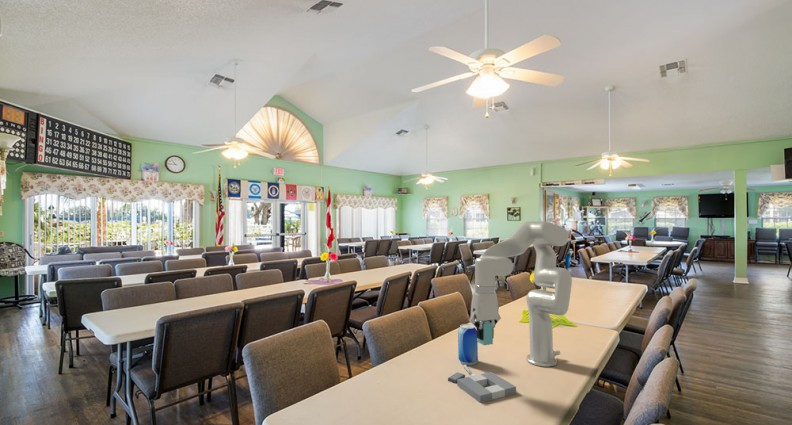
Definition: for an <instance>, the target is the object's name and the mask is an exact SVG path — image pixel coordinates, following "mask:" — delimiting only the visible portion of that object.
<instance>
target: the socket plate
mask: <svg viewBox="0 0 792 425" xmlns="http://www.w3.org/2000/svg"><path fill="white" fill-rule="evenodd" d="M474 375H475V376H471V375H470V376H467V377H466V376H465V378H461V379H457V383H456V386H457V387H459V388H460V389H461V390H462V391H463V392H465V393H467V394H468V395H469V396H471V397H472V398H473V399H475V400H476V401H477V402H478V403H484V402H485V403H486V402H488V401H493V400H495V399H500V398H504V397H507V396H511V395H514V394H517V386H515V385H514V384H513V383H511V382H509V381H507V380H506V379H504V378H502V377H501V376H498V375H497V374H495V373H493V372H492V371H490V372H484V373H479V374H474ZM485 386H486V387H485Z"/></svg>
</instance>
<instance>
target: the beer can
mask: <svg viewBox="0 0 792 425" xmlns="http://www.w3.org/2000/svg"><path fill="white" fill-rule="evenodd" d="M457 336H458V339H457V342H458V347H457V348H458V360H459V362H460V363H461V365H466V366H475V365H476V364H477V362H478V361H479V355H478V354H479V352H478V350H479V349H478V348H479V347H478V346H479V345H478V338H477V328H476V327H475V326H474V324H472V323H462V324H460V325H459V328H458V330H457Z"/></svg>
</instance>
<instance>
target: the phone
mask: <svg viewBox="0 0 792 425" xmlns="http://www.w3.org/2000/svg"><path fill="white" fill-rule="evenodd" d="M461 378H466V374H464V373H461V372H455V373H454V374H452V375H450V376H449V377H448V378H447V381H448V382H450V383H454V384H457V379H461Z"/></svg>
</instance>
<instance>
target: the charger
mask: <svg viewBox="0 0 792 425" xmlns="http://www.w3.org/2000/svg"><path fill="white" fill-rule="evenodd" d="M482 329H483V340H480V339H478V338H477V341H478V343H479V344H480V345H483V346H490V345H494V340H493V339H494V338H493V323H492V322H490V321H483V325H482Z"/></svg>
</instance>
